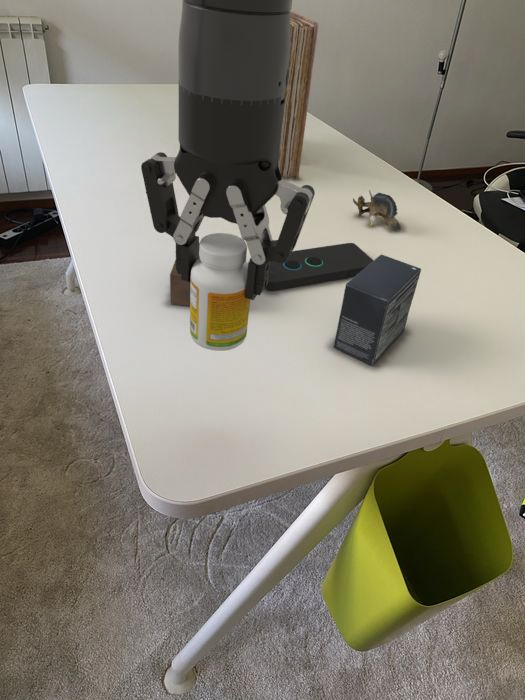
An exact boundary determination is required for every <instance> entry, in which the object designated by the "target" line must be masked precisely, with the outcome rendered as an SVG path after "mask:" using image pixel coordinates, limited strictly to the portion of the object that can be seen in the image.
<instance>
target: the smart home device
mask: <svg viewBox="0 0 525 700" xmlns="http://www.w3.org/2000/svg"><path fill="white" fill-rule="evenodd" d="M250 260H251V257H250V258H249V261H250ZM374 260H375V259H373V258H372V257H370V256H369V255H368V254H367V252H365V251H363V249H362V248H360V247H359V246H358V245H357V244H356V243H354V242H346V243H339V244H331V245H324V246H319V247H311V248H304V249H298V250H293V251H292V252H291V253H290V254H289V257H288V259H287V260H286V262H284V263H278V262H276V261H270V268H269V276H268V284H267V285H266V287H265V288H264V289H265V290H266V291H267V292H271V291H272V292H274V291H275V292H276V291H280V290H286V289H291V288H297V287H303V286H309V285H314V284H315V285H316V284H320V283H321V284H322V283H327V282H331V281H337V280H343V279H349V278H354V277H355V276H356V275H357V274H358V273H360V272H361V271H362V270H363V269H364V268H366V267H367V266H368V265H369V264H370V263H372V262H373V261H374Z"/></svg>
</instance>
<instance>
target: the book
mask: <svg viewBox="0 0 525 700" xmlns="http://www.w3.org/2000/svg"><path fill="white" fill-rule="evenodd" d="M290 11H291V21H290V36H291V46H290V60H289V69H290V72H289V81H288V85H287V87H286V95H285V104H284V113H283V121H282V130H281V139H280V148H279V156H278V166H279V170H280V173H281V175H282V178H294V179H295V180H298V179H299V176H300V170H301V162H302V155H303V154H302V153H303V147H304V139H305V131H306V123H307V115H308V108H309V100H310V92H311V85H312V84H311V83H312V77H313V68H314V61H315V54H316V45H317V39H318V32H319V22H317V21H315V20H313V19H310V18H308V17H306V16H303V15H301V14H299V13H296V12H295V11H292V10H290Z"/></svg>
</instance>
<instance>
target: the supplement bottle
mask: <svg viewBox="0 0 525 700" xmlns="http://www.w3.org/2000/svg"><path fill="white" fill-rule="evenodd" d="M199 243H200V246H199V256H200V258H199V259H198V260H197V261H196V262H195V263H194V265H193V266H192V269H191V285H190V306H189V308H190V309H189V334H190V337H191V339H192V341H193V342H194V343H195V344H196V345H198V346H199V347H201V348H204V349H206V350H209V351H215V352H225V351H231V350H234V349H236V348H238V347H240V346H241V345H242V344H243V343H244V342H245V341H246V339H247V333H248V325H249V315H250V305H251V304H250V302H251V299H247V298H245V294H246V283H247V271H248V262H247V255H246V252H247V253H248V246H247V243H246V241H245V240H243V239H242V237H240V236H239V235H235V234H232V233H226V232H214V233H211V234H207V235H204V236H202V237H201V239H200V240H199ZM245 260H246V262H245Z"/></svg>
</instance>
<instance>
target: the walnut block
mask: <svg viewBox="0 0 525 700" xmlns="http://www.w3.org/2000/svg"><path fill="white" fill-rule="evenodd" d="M199 246H200V242H199ZM247 253H248V251H247V252H246V256H247V255H248V254H247ZM199 258H200V256H199ZM245 262H246V263H247V259H246V260H245ZM190 285H191V282H190V283H188V282H184V281H182V280H181V274H178V273H177V270H176V259H174V263H173V265H172V268H171V271H170V273H169V289H170V290H169V293H170V296H169V297H170V305H173V306H174V305H175V306H184V307H190Z"/></svg>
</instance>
